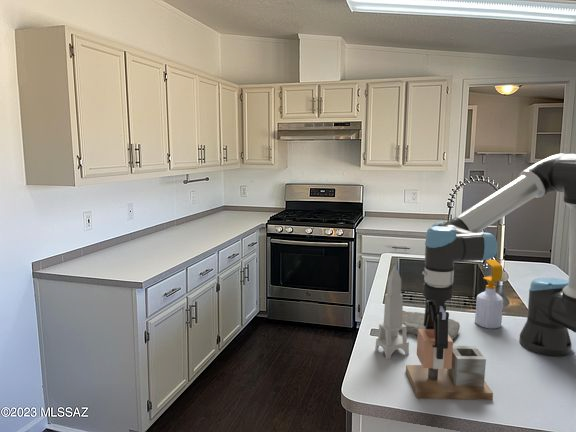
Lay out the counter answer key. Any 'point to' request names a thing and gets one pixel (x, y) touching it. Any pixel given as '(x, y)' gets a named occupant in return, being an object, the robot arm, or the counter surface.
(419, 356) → the orange hollow cube
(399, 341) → the sculpture
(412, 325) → the stone
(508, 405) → the counter surface
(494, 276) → the spray bottle
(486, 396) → the pin board
